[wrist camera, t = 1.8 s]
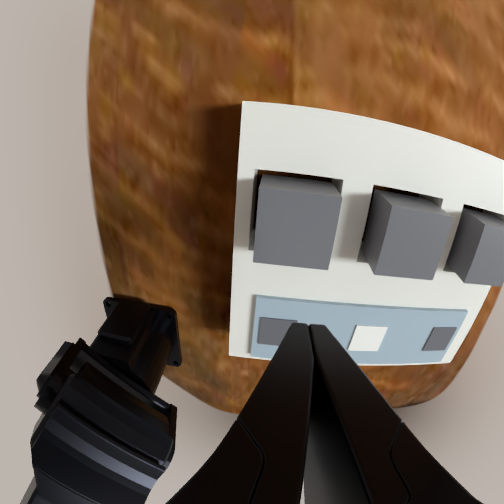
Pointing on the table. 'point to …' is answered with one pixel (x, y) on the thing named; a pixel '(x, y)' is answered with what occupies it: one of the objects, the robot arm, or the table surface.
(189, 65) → the table surface
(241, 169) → the button board
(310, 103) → the table surface
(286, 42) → the table surface
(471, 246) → the button right
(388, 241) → the button middle
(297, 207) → the button left
